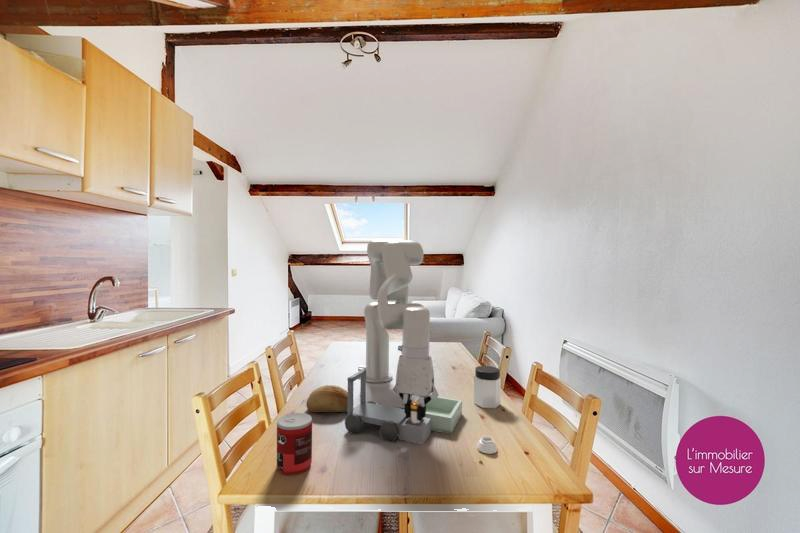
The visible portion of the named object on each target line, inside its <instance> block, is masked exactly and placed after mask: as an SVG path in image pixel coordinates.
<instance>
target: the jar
mask: <svg viewBox="0 0 800 533" xmlns="http://www.w3.org/2000/svg"><path fill="white" fill-rule="evenodd" d="M474 370H475V371H474V372H475V374H474V376H473V377H474V378H473V404H475V405H477V406H479V407H480V408H482V409H497V408H498V407H499V406H500V405H501V388H502V387H501V382H502V380H501V379H502V378H501V371H500V369H499V368H498V367H495V366H491V365H480V366H479V365H478V366H476V367H475V368H474Z"/></svg>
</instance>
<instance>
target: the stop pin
mask: <svg viewBox="0 0 800 533" xmlns="http://www.w3.org/2000/svg"><path fill="white" fill-rule="evenodd" d="M413 401H414V400H413ZM413 401H412V402H410V424H411V425H416V426H420V421H419V420H418V407H419V405H420V402H416V401H414V402H413Z"/></svg>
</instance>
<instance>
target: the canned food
mask: <svg viewBox="0 0 800 533" xmlns="http://www.w3.org/2000/svg"><path fill="white" fill-rule="evenodd" d="M312 454H313V419H312V415H310V414H308V413H305V412H304V413H303V412H294V413H288V414H285V415H283V416H280V417H279V418H278V419H277V421H276V468H277V470H278V472H280V473H281V474H282V475H287V476H290V475H291V476H292V475H293V476H294V475H299V474H302V473H304V472H306V471H308V470H309V468H310V466H311V464H312V462H313V461H312V458H313V457H312V456H313V455H312Z"/></svg>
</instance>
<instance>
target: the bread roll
mask: <svg viewBox="0 0 800 533" xmlns="http://www.w3.org/2000/svg"><path fill="white" fill-rule="evenodd" d="M347 403H348V390H346V389H345V388H342V387H341V386H338V385H334V384H333V385H331V384H329V385H326V384H325V385H323V386H320V387H318V388H316V389H314V390H312V391H311V393H310V394H309V396H308V397H307V400H306V405H305V406H306V409H307V410H308V411H309V412H312V413H342V412H344V413H345V412H347Z"/></svg>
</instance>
